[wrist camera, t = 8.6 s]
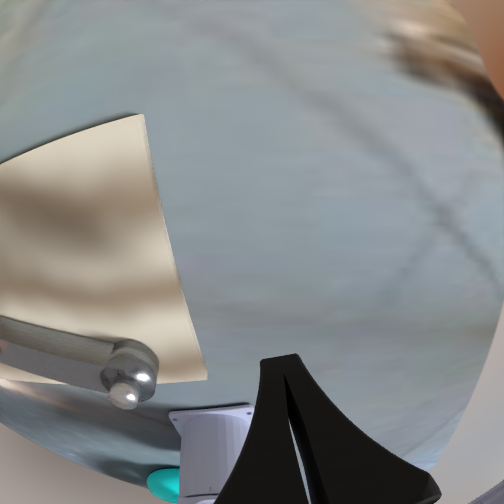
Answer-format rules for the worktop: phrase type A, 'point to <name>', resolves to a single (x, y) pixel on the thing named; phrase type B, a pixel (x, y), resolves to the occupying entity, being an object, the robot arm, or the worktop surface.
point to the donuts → (165, 484)
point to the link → (82, 361)
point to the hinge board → (94, 248)
